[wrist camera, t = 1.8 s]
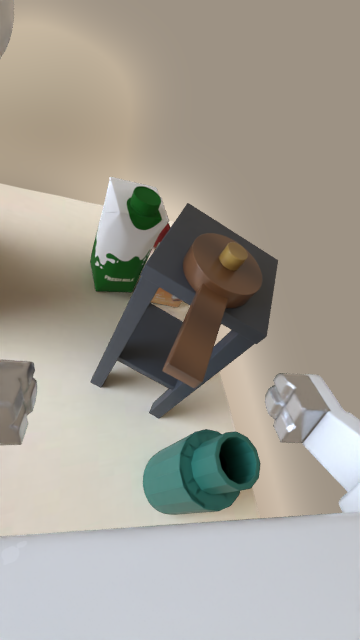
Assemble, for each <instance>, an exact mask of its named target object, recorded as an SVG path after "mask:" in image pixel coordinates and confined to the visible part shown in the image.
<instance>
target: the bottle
mask: <svg viewBox="0 0 360 640" xmlns="http://www.w3.org/2000/svg"><path fill="white" fill-rule="evenodd" d="M259 471H260V460H259V457H258V453H257V450H256V448H255V447H254V445H253V444H252V443H251V441H250V440H249V439H248V438H247V437H246V436H244V435H242V434H240V433H238V432H228V433H224V434H221V433H219V432H217V431H212V430H208V429H205V430H201V431H197V432H194V433H193V434H191V435H189V436H187V437H185V438H183V439H181V440H180V441H178V442H176V443H174V444H172V445H170V446H168V447H167V448H165V449H163V450H161V451H159V452H158V453H157V454H155V455H154V456H153V457H152V458H151V459H150V460H149V462H148V464H147V465H146V468H145V471H144V475H143V487H144V492H145V495H146V498H147V499H148V501H149V503H150V504H151V505H152V506H153V507H154V508H155V509H156V510H158V511H159V512H161V513H164V514H187V513H201V512H214V511H220V510H223V509H225V508H227V507H229V506H231V505H232V503H233V502H234V501H235V500H236V498H237V497H238V496H239V493H240V490H245V489H250V488H252V486H253V485H254V483H255V482H256V481H257V479H258V478H259Z"/></svg>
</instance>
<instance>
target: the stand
mask: <svg viewBox="0 0 360 640" xmlns="http://www.w3.org/2000/svg"><path fill="white" fill-rule="evenodd" d="M206 233H215V234H220V235H223V236H226V237H228V238H230V239H232V240H234V241H236V242H237V243H239V244H240V245H241V246H243V247H244V248H245V249H246V250H247V251H248V252H249V253H250V254H251V255H252V256H253V258H254V259H255V260H256V262H257V264H258V265H259V268H260V270H261V273H262V285H261V287H260V289H259V290H258V291H257V292H256V293H255V294H254V295H253V296H252V297H251V298H250V299H249V300H248V301H247V302H246V303H245V304H244V305H242V306H240V307H237V308H225V311H224V315H223V318H222V321H221V324H223V325H225V326H226V327H228V328H230V329H231V331H230V332H229V333H228V334H227V335H226V336H225V337H224V338H223V339H222V340H221V341H219V342H218V343H217V344H216V345H215V346H214V347H213V350H212V354H211V357H210V360H209V363H208V367H207V370H206V373H205V376H204V380H203V382H202V383H201V384H200V385H198V386H197V387H196V388H192V387H191V386H189V385H187V384H185V383H183V382H182V381H180V380H178V379H176V378H174V377H172V376H171V375H169V374H167V373H165V372H163V367H164V365H165V363H166V361H167V358H168V356H169V354H170V351H171V349H172V347H173V344H174V342H175V340H176V337H177V335H178V333H179V331H180V328H181V326H182V324H183V322H182V321H180V320H179V319H177V318H175V317H173V316H172V315H170V314H168V313H167V312H165V311H163V310H161V309H160V308H158V307H156V306H155V305H153V304H151V303H150V302H151V301H152V299H153V297H154V295H155V294H156V292H157V290H158V289H159V287H160V288H162V289H163V290H165V291H167V292H168V293H170V294H172V295H174V296H175V297H177V298H179V299H180V300H182V301H184V302H185V303H187V304H189V305H191V303H192V301H193V298H194V296H195V294H196V291H195V290H194V289H193V288H192V287H191V285H190V284H189V282H188V281H187V279H186V277H185V274H184V271H183V260H184V257H185V255H186V254H187V252H188V250H189V249H190V247H191V245H192V244H193V242H194V241H195V239H196V238H197V237H198V236H200V235H202V234H206ZM277 264H278V260H277V259H275V258H274V257H272V256H270V255H269V254H267V253H266V252H264V251H263V250H261V249H259V248H258V247H256V246H255V245H253V244H252V243H250V242H248V241H247V240H245V239H244V238H242V237H241V236H239V235H237V234H236V233H234V232H233V231H231V230H229V229H228V228H227V227H225V226H223V225H222V224H220V223H219V222H217V221H216V220H214V219H212V218H211V217H209V216H208V215H206V214H205V213H203V212H201V211H200V210H198V209H197V208H195V207H194V206H192V205H190V204H188V203H187V205H186V206H185V208H184V209H183V211H182V212H181V214H180V215H179V217H178V218H177V219H176V221H175V222H174V224H173V225H172V227H171V228H170V229H169V231H168V232H167V234H166V235H165V237H164V238H163V240H162V241H161V242H160V244H159V245H158V247H157V248H156V250H155V251H154V253H153V254H152V255H151V257H150V258H149V260H148V261H147V263H146V264H145V266H144V268H143V270H142V272H141V275H140V276H141V278H140V280H139V282H138V284H137V286H136V288H135V290H134V292H133V294H132V296H131V298H130V300H129V303H128V305H127V307H126V309H125V311H124V313H123V315H122V317H121V319H120V321H119V323H118V325H117V327H116V330H115V332H114V334H113V336H112V338H111V340H110V342H109V344H108V346H107V348H106V350H105V352H104V355H103V357H102V359H101V361H100V363H99V365H98V367H97V369H96V371H95V373H94V375H93V377H92V380H91V383H93V384H95V385H97V386H99V387H102V385H103V384H104V382H105V380H106V378H107V377H108V375H109V373H110V371H111V370H112V368H113V366H114V365H115V363H116V361H119V362H121V363H123V364H125V365H127V366H128V367H130V368H132V369H134V370H136V371H138V372H139V373H141V374H143V375H145V376H147V377H149V378H150V379H152V380H154V381H156V382H158V383H160V384H161V385H163V386H165V387H167V388H169V389H168V390H167V391H166V392H165V393H164V394H162V395H161V396H160V397H159V398H158V399H157V400H156V401H155V402H154V403H153V405H152V407H151V410H150V412H149V413H150V414H152V415H154V416H156V417H157V418H160V417H161V416H163V415H164V414H165V413H167V412H168V411H169V410H170V409H172V408H173V407H174V406H176V405H177V404H178V403H179V402H181V401H182V400H183V399H185V398H186V397H187V396H188V395H190V394H191V393H192V392H194V391H195V390H196V389H197V388H199V387H200V386H201V385H203V384H204V383H205V382H206V381H208V380H209V379H210V378H211V377H213V376H214V375H215V374H217V373H218V372H219V371H220V370H222V369H223V368H224V367H225V366H227V365H228V364H229V363H231V362H232V361H233V360H234V359H236V358H237V357H238V356H240V355H241V354H242V353H243V352H245V351H246V350H247V349H249V348H250V347H251V346H252V345H254V344H257V343H259V342H260V341H261V340H263V339H264V338H265V337H266V336H267V330H268V324H269V317H270V309H271V304H272V297H273V291H274V284H275V277H276V271H277ZM221 324H220V325H221Z"/></svg>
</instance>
